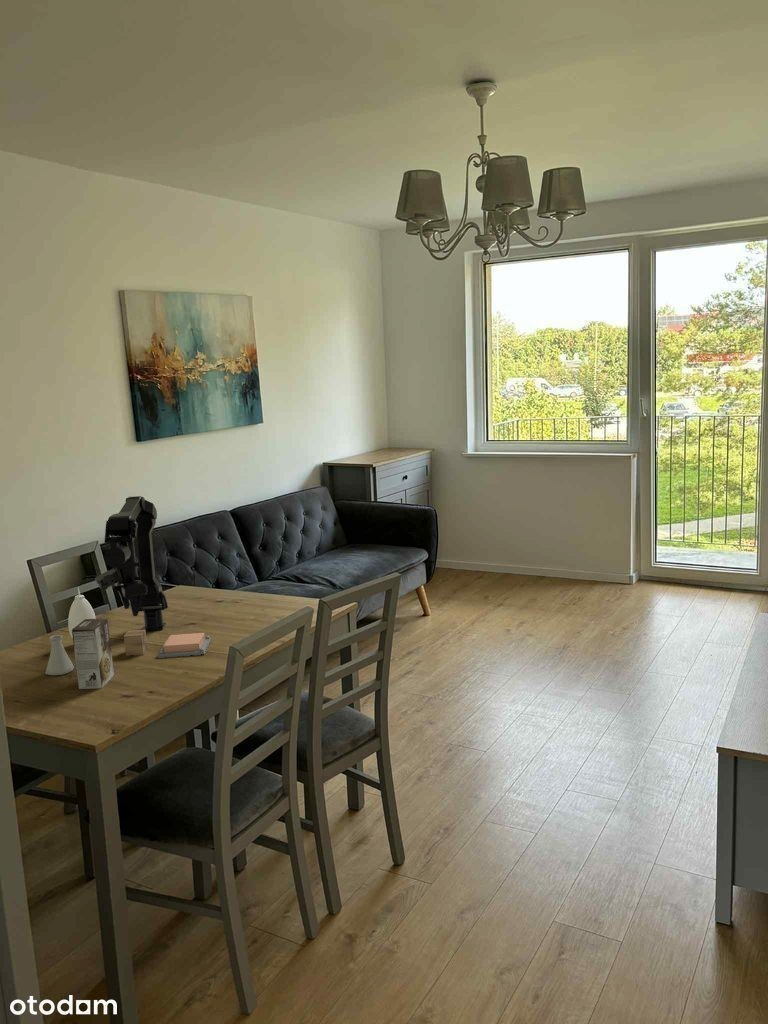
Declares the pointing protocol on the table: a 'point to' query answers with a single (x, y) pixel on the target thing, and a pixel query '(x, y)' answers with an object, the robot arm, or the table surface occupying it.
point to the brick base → (186, 653)
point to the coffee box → (93, 653)
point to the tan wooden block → (135, 642)
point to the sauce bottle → (79, 612)
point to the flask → (58, 658)
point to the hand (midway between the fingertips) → (131, 612)
